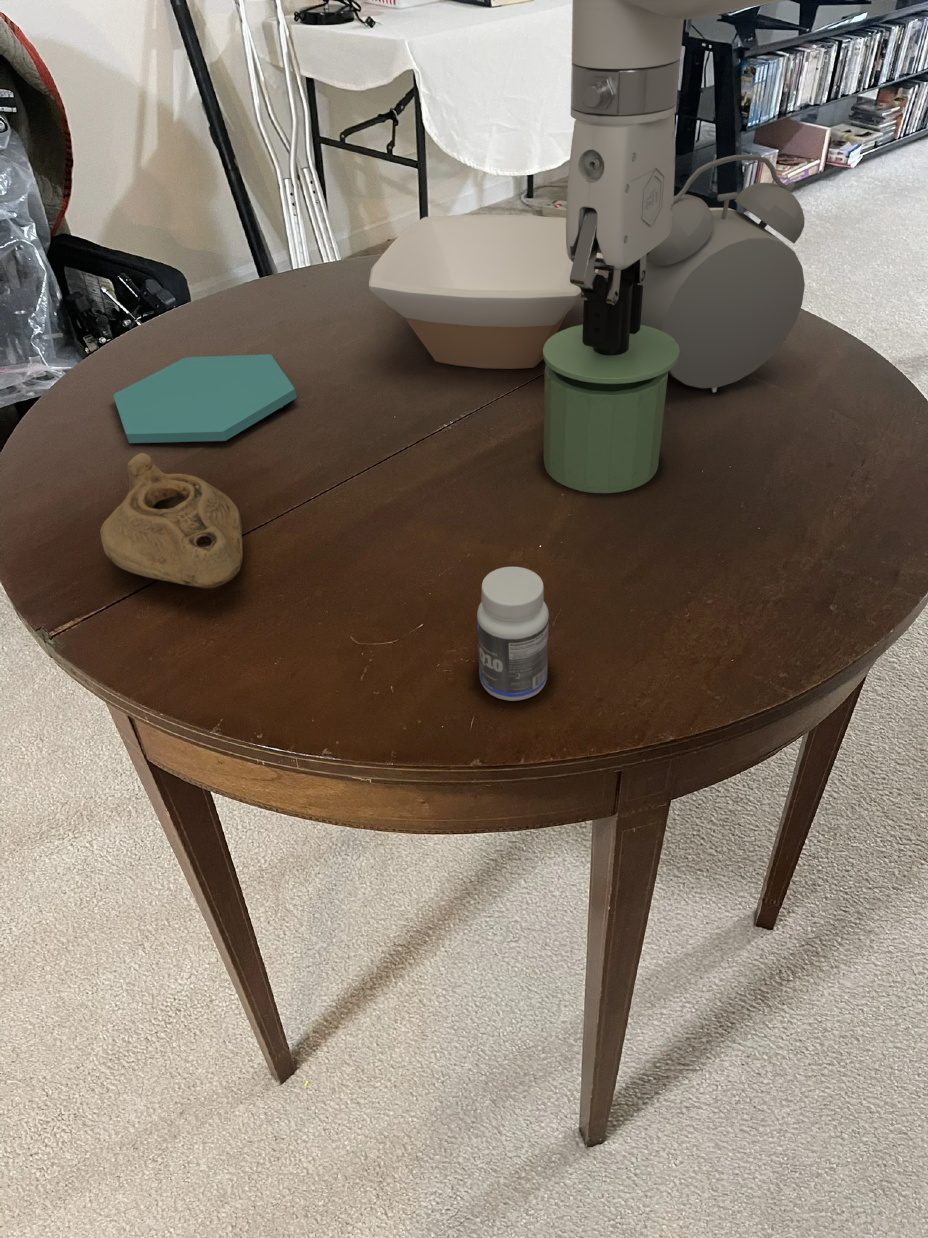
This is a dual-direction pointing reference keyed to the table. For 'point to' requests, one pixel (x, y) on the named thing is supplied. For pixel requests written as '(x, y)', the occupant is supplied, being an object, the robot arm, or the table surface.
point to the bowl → (480, 286)
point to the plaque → (203, 399)
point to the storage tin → (602, 432)
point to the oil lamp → (174, 528)
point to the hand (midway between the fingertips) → (611, 336)
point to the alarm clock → (726, 280)
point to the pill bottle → (513, 634)
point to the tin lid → (627, 364)
